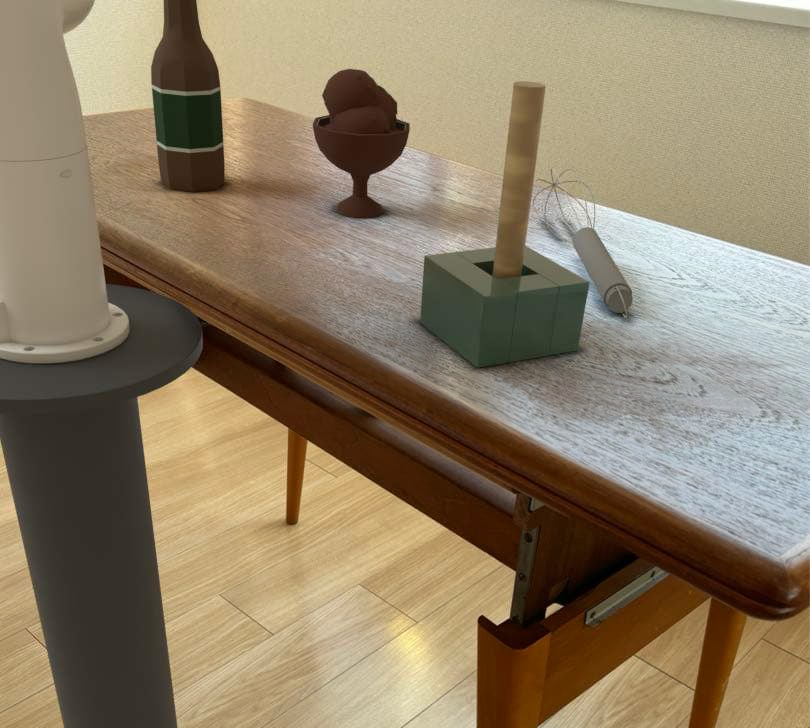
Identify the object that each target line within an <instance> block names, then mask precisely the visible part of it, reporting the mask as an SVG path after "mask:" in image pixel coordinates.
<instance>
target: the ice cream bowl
mask: <svg viewBox="0 0 810 728" xmlns="http://www.w3.org/2000/svg"><path fill="white" fill-rule="evenodd" d="M321 97H322V99H323V102H324V106H325V108H326V110H327V112H328V114H327V115H321V116H319V117H315V118H314V120H313V121H312V130H313V134H314V140H315V142H316V144H317V147H318V149H319V151H320V152H321V154H323V156H324V157H325V159H326V160H328V162H330V163H331V164H332V165H334V166H335V167H336V168H338V169H339V170H341V171H343V172H346V173H347V174H350V177H351V180H352V194H351V195H349V196H348V197H346V198H343V200H341V201H339V202H338V204H337V207H336V213H338V214H340V215H342V216H344V217H350V218H357V219H363V218H364V219H365V218H375V217H378V216H381V215H383V207H382V204H381V203H379V202H377V201H376V200H375V199H373V198H372V197H371V196H369V195H368V182H369V179H370V178H371V175H374V174H378V173H381V172H383V171H384V170H386V169H387V168H388V167H391V166H392V165H393V164H394V163H395V162H396V161H397V160H398V159H399V158H400V157H401V156H402V155H403V152H404V150H405V148H406V146H407V143H408V139H409V135H410V131H411V130H410V128H411V127H410V126H411V125H410V123H409V122H406V121H404V120H401V119H398V118H397V115H398V101H396V99H395V98H394V97H393V96H392V95H391V94H390V93H389V92H388V91H387V90H386V89H385V88H384V87H383V86H382V85H380V84H378V83H377V82H376V81H375V79H374V78H373V77H371V76H370V74H369V73H368V72H366V71H365V70H363V69H355V68H347V69H346V68H345V69H341V70H339V71H337V72H336V73H334V74H333V75H332V76H331V77H330V78H329V79H328V80H327V82H326V84H325V86H324V89H323V91H322V95H321Z"/></svg>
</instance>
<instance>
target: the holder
mask: <svg viewBox="0 0 810 728" xmlns="http://www.w3.org/2000/svg"><path fill="white" fill-rule="evenodd" d="M494 256H495V247H486V248H477V249H467V250H461V251H453V252H444V253H435V254H427V255H424V259H423V272H422V287H421V300H420V301H421V302H420V316H419V323H420V324H421V325H422V326H423V327H425V328H426V329H427V330H429V331H430V332H431V333H433V334H434V335H435V336H437V337H438V338H439V339H440V340H441V341H443V342H444V343H446V345H448V346H449V347H450V348H451V349H452V350H454V351H455V352H457V353H458V354H459V355H460V356H462V357H463V358H465V360H466V361H468V362H469V363H470V364H472V365H473V366H474V367H475V368H478V369H479V368H485V367H490V366H496V365H502V364H507V363H513V362H520V361H525V360H530V359H537V358H542V357H543V358H544V357H549V356H554V355H561V354H566V353H571V352H576V351H578V350H579V345H580V340H581V334H582V329H583V323H584V318H585V311H586V306H587V300H588V296H589V295H588V294H589V288H590V281H588V279H585V278H583V277H581V276H580V275H578V274H577V273H574V272H573V271H571V270H569V269H568V268H566V267H564V266H563V265H560V264H559V263H557V262H555V261H554V260H553V259H550V258H548V257H547V256H545V255H543V254H541V253H539V252H538V251H536V250H534V249H533V248H531V247H529V246H527V245H525V251H524V259H523V267H522V274H521V276H520V277H513V278H505V279H498V280H497V279H496V278H494V277H493V276H492V274H493V265H494Z"/></svg>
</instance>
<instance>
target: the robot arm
mask: <svg viewBox="0 0 810 728" xmlns="http://www.w3.org/2000/svg"><path fill="white" fill-rule="evenodd" d="M95 1H96V0H0V358H1V359H4V360H8V361H13V362H19V363H29V364H53V363H65V362H72V361H78V360H83V359H87V358H91V357H94V356H97V355H100V354H103V353H105V352H108V351H110V350H112V349H114V348H115V347H117V346H118V345H120V344H121V343H122V342H123V341H124V340H125V339H126V338H127V336H128V334H129V332H130V326H129V319H128V316H127V314H126V313H125V312H124V311H123V310H122V309H120V308H119V307H117V306H115V305H113V304H111V303H108V298H107V291H106V284H107V283H106V276H105V269H104V262H103V255H102V247H101V239H100V231H99V224H98V217H97V209H96V208H97V207H96V201H95V194H94V186H93V180H92V179H93V178H92V172H91V171H92V170H91V164H90V156H89V150H88V144H87V137H86V129H85V123H84V122H85V121H84V116H83V111H82V104H81V99H80V95H79V90H78V86H77V82H76V78H75V74H74V71H73V67H72V64H71V60H70V58H69V54H68V50H67V47H66V43H65V38H64V35H65V34H68V33H70V32H71V31H73V30H75V29H76V28H77V27H78V26H80V25H81V24H82V23H83V22H84V21H85V20H86V18H87V17H88V16H89V14H90V13H91V11H92V9H93V7H94V5H95Z"/></svg>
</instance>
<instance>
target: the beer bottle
mask: <svg viewBox="0 0 810 728" xmlns="http://www.w3.org/2000/svg"><path fill="white" fill-rule="evenodd" d="M162 28H163V30H162V37H161V39H160V41H159V43H158V45H157V47H156V48H155V51H154V53H153V57H152V62H151V65H150V79H151V93H152V106H153V115H154V127H155V138H156V139H155V140H156V148H157V160H158V168H159V175H160V181H161V183H162V184H163V185H165V186H166V187H168V188H169V190H173V191H174V190H175V191H181V192H182V191H183V192H191V193H195V192H205V191H214V190H216V189H218V188H219V187H221V186H222V185H224V183H225V179H226V177H225V169H226V168H225V167H226V165H225V147H224V129H223V111H222V92H221V91H222V90H221V89H222V88H221V81H220V79H221V78H220V72H219V71H220V70H219V67H218V64H217V62H216V59H215V57H214V54H213V52H212V50H211V49H210V48H209V46H208V44H207V43H206V41H205V39H204V38H203V33H202V29H201V26H200V20H199V12H198V3H197V0H163V27H162Z"/></svg>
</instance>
